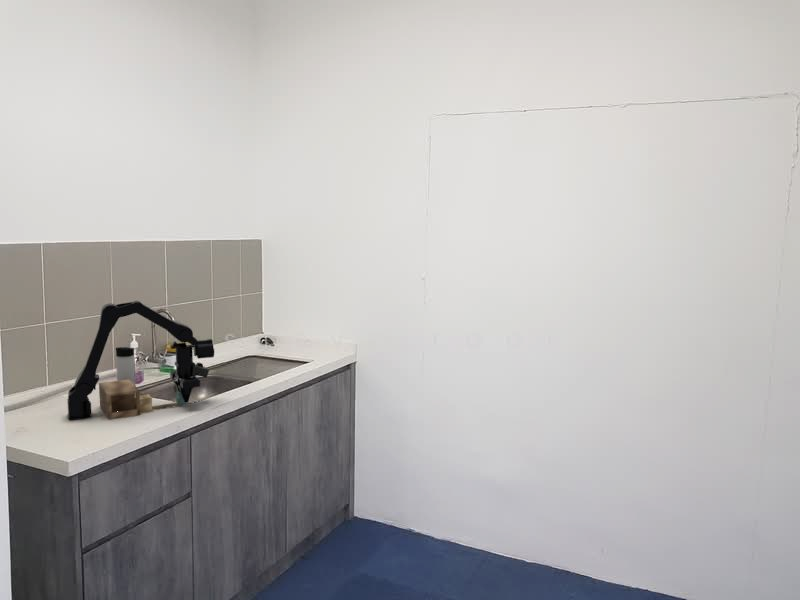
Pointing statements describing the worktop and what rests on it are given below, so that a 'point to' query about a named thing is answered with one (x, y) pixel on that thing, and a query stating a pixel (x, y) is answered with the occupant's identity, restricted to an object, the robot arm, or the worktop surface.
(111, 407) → the brown wooden box
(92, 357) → the robot arm
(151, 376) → the worktop surface
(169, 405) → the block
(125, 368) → the travel mug
